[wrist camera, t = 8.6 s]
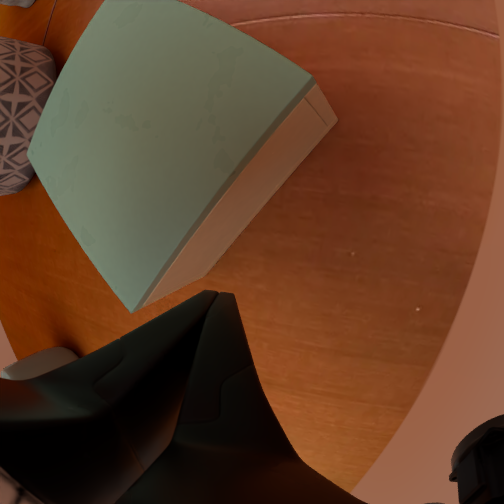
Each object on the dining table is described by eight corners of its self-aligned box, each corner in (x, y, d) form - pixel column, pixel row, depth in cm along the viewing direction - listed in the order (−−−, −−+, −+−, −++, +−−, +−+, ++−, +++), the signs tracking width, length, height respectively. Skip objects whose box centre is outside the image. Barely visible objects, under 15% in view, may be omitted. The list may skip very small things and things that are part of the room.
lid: (34, 154, 18) (26, 154, 17) (128, -16, 12) (120, -21, 11) (141, 309, 16) (130, 314, 15) (317, 82, 10) (313, 75, 9)
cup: (89, 401, 33) (35, 437, 24) (55, 355, 34) (0, 384, 25) (105, 380, 30) (41, 422, 21) (66, 327, 31) (0, 358, 22)
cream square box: (103, 160, 24) (37, 160, 18) (192, 23, 18) (134, -14, 12) (205, 276, 22) (141, 308, 16) (339, 120, 16) (317, 82, 10)
